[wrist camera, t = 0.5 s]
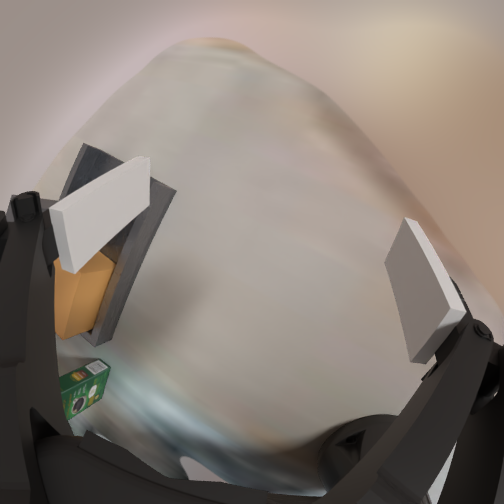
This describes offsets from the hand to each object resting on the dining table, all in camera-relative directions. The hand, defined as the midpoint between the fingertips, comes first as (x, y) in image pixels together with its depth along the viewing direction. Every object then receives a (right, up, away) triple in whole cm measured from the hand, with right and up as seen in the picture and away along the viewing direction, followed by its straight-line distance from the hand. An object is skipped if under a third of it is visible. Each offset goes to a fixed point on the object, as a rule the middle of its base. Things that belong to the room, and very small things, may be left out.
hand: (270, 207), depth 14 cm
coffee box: (-26, -23, +26) cm, 43 cm away
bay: (-23, -1, +25) cm, 34 cm away
